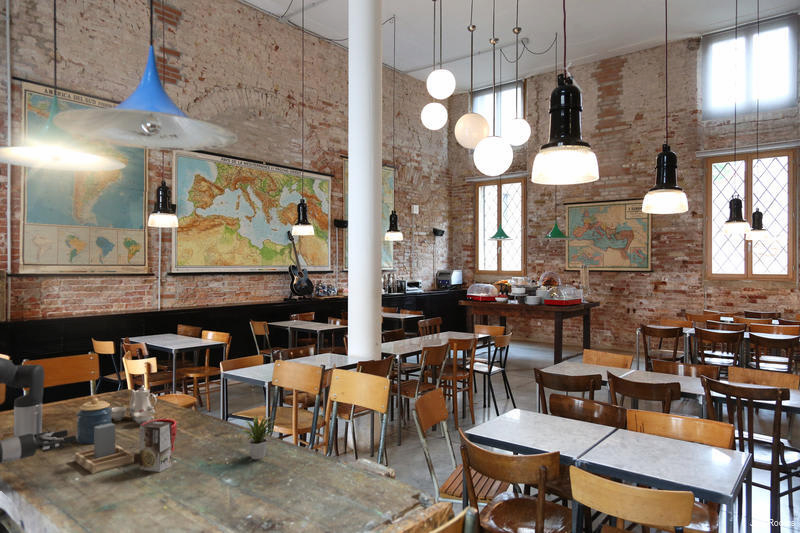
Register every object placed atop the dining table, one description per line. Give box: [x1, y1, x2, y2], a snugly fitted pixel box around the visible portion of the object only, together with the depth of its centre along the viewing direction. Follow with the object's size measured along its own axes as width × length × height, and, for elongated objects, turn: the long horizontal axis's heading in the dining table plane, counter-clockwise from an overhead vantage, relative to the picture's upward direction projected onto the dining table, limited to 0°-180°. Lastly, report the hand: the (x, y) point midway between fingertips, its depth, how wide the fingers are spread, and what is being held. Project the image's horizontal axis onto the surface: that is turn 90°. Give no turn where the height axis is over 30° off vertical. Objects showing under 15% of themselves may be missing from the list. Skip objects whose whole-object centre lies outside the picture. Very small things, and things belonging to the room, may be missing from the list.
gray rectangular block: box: [93, 422, 116, 459], centre depth 193 cm, size 4×6×13 cm, turn 140°
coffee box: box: [139, 420, 172, 473], centre depth 188 cm, size 9×6×16 cm
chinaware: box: [111, 384, 157, 427], centre depth 244 cm, size 28×17×17 cm, turn 71°
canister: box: [75, 397, 113, 445], centre depth 217 cm, size 13×13×18 cm
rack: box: [74, 443, 135, 475], centre depth 193 cm, size 18×14×3 cm
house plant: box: [241, 414, 277, 460], centre depth 198 cm, size 14×14×16 cm
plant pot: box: [142, 418, 178, 453], centre depth 201 cm, size 13×13×12 cm
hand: (71, 435), depth 184 cm, fingers open, 8 cm apart
